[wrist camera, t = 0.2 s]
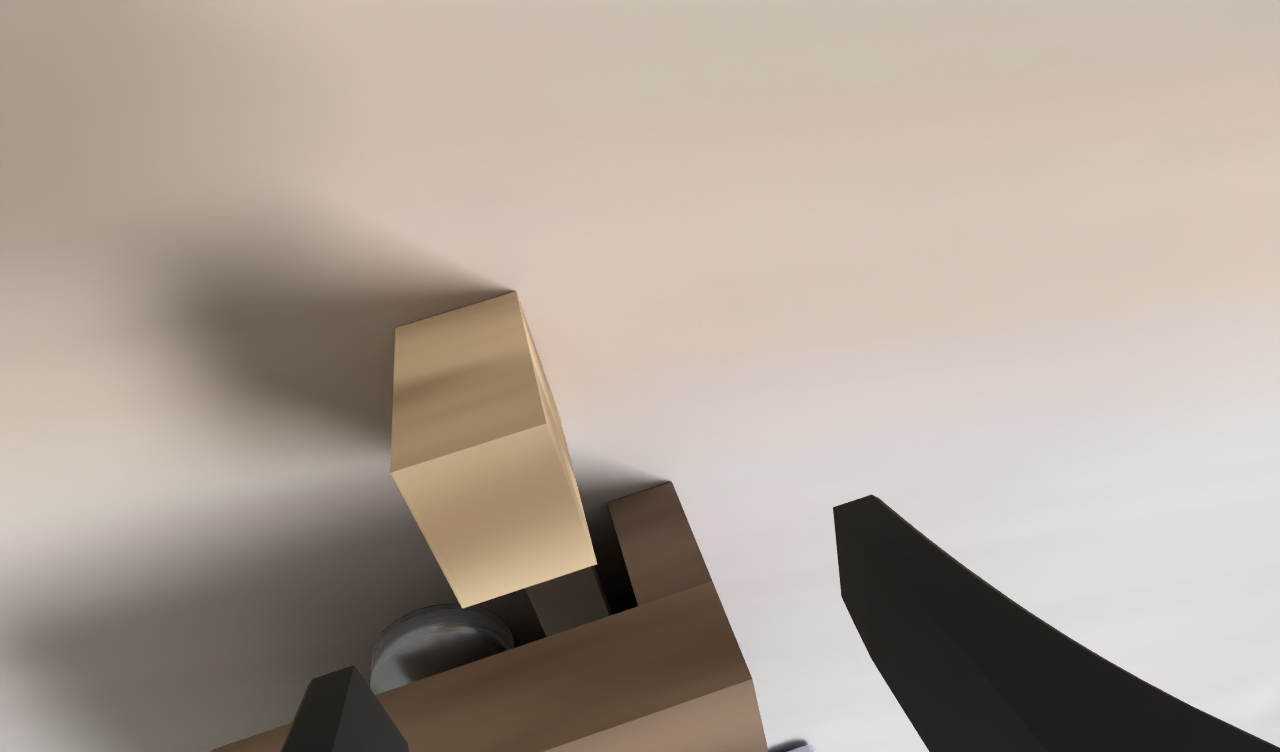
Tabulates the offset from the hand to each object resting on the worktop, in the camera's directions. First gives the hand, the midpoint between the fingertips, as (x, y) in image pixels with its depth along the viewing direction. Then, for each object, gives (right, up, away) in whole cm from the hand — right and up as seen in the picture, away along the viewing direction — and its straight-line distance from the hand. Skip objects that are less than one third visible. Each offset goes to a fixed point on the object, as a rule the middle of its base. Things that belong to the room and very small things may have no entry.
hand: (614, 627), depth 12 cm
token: (-6, -5, +14) cm, 16 cm away
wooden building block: (-2, -1, +12) cm, 12 cm away
